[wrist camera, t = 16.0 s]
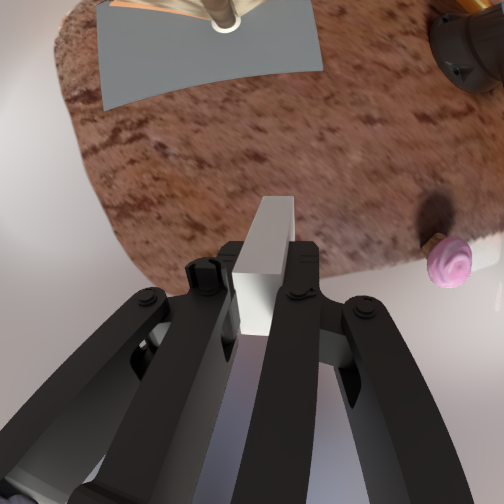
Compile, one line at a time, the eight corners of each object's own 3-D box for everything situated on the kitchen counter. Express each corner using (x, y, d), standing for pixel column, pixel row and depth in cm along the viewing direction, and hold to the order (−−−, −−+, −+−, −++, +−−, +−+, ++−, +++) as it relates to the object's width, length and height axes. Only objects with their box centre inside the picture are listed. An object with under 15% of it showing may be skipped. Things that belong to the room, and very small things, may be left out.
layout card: (299, -41, 27) (299, -43, 26) (322, 70, 36) (323, 70, 35) (97, 6, 31) (96, 5, 30) (105, 111, 40) (103, 111, 39)
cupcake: (437, 214, 43) (467, 235, 34) (458, 244, 45) (486, 269, 36) (405, 249, 46) (429, 277, 37) (428, 276, 48) (451, 306, 39)
